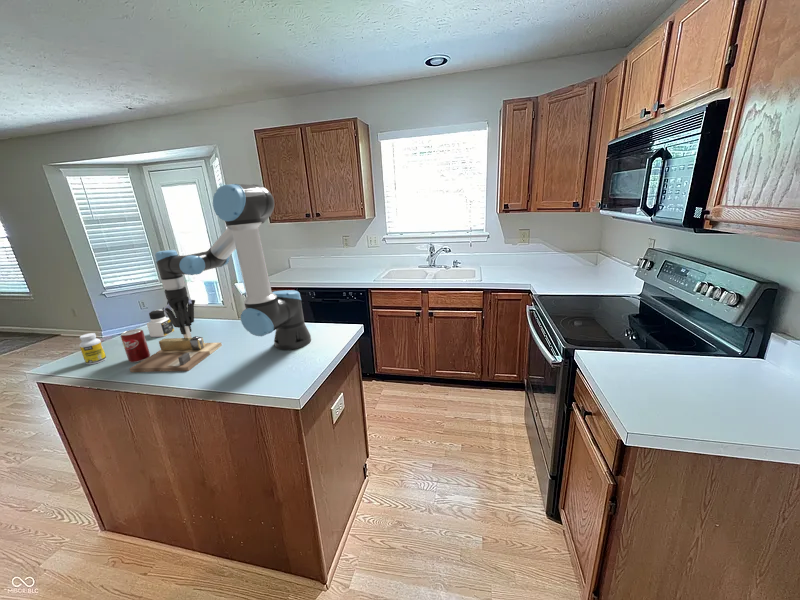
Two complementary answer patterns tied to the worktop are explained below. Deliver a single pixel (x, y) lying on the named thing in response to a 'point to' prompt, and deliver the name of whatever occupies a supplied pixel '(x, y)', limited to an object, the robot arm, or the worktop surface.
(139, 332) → the soda can
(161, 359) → the wooden cutting board
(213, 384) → the worktop surface
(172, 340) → the swing bar
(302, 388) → the worktop surface
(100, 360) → the pill bottle
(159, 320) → the medicine bottle
